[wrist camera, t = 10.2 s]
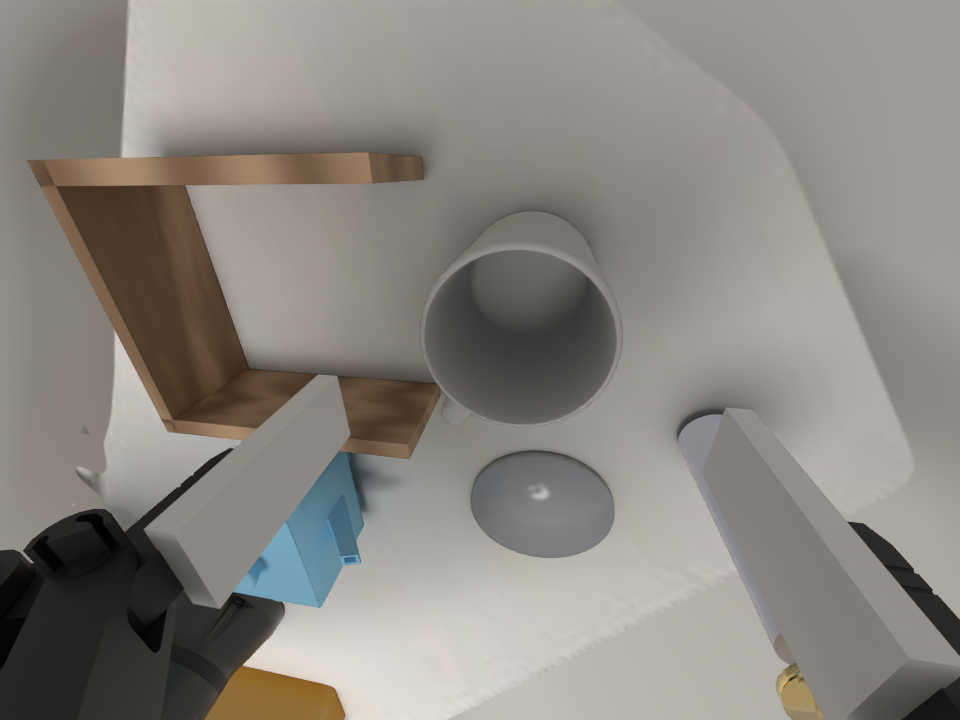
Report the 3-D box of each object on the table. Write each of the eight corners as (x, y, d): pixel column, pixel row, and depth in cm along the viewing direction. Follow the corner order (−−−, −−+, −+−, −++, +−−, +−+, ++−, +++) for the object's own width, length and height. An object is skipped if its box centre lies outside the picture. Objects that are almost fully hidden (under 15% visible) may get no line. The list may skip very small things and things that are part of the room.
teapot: (406, 532, 39) (358, 653, 30) (258, 511, 42) (170, 615, 32) (386, 413, 32) (315, 522, 22) (210, 397, 35) (76, 487, 25)
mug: (510, 181, 22) (481, 190, 12) (623, 259, 23) (676, 323, 13) (424, 331, 28) (359, 416, 18) (517, 388, 29) (502, 498, 19)
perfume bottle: (668, 464, 30) (841, 891, 12) (664, 406, 27) (872, 832, 10) (749, 458, 28) (1082, 936, 11) (752, 396, 26) (1187, 878, 8)
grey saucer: (473, 540, 38) (472, 547, 37) (470, 444, 32) (468, 450, 31) (601, 558, 36) (603, 566, 35) (624, 460, 30) (626, 466, 29)
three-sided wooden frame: (243, 379, 33) (167, 431, 26) (163, 162, 25) (27, 160, 18) (439, 396, 30) (409, 459, 24) (421, 157, 22) (368, 152, 16)
